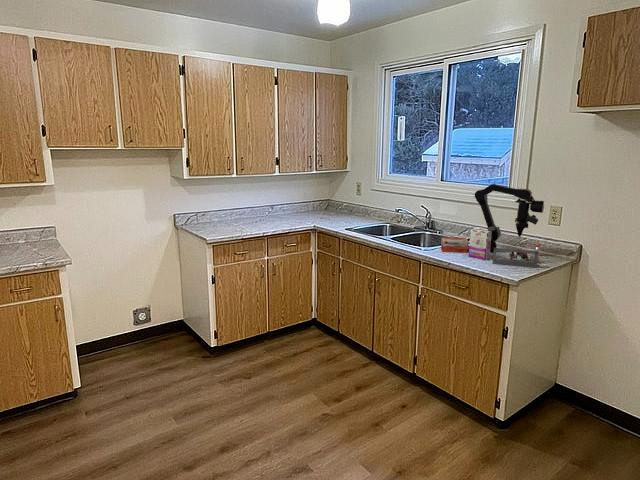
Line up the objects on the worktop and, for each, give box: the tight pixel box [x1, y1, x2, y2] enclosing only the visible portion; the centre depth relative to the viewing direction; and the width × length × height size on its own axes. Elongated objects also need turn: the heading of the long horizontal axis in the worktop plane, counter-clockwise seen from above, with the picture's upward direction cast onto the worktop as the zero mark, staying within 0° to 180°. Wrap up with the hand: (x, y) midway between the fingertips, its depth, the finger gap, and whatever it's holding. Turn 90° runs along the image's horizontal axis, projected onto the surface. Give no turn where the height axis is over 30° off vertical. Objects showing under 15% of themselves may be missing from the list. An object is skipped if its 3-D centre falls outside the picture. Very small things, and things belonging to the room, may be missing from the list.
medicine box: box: [440, 236, 469, 254], centre depth 263 cm, size 15×8×8 cm, turn 80°
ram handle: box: [532, 242, 541, 261], centre depth 237 cm, size 3×3×10 cm
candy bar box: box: [468, 228, 492, 261], centre depth 246 cm, size 11×5×16 cm, turn 40°
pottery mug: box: [508, 248, 530, 261], centre depth 241 cm, size 12×10×8 cm
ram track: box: [529, 255, 541, 264], centre depth 243 cm, size 4×14×1 cm, turn 159°
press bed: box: [492, 247, 540, 269], centre depth 233 cm, size 22×6×9 cm, turn 69°
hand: (519, 236), depth 251 cm, fingers closed
